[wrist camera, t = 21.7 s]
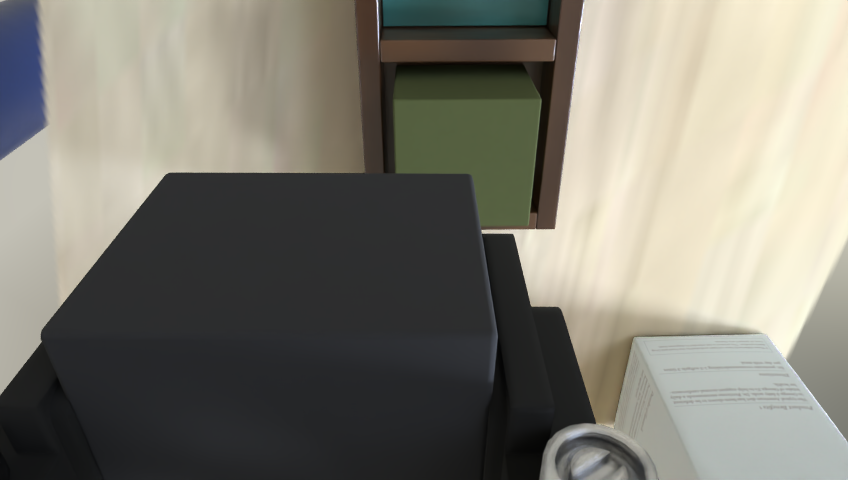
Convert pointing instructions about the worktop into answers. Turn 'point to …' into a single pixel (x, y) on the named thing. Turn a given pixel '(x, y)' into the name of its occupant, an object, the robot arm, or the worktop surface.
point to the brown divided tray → (472, 45)
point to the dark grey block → (286, 331)
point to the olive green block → (471, 132)
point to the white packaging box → (726, 411)
